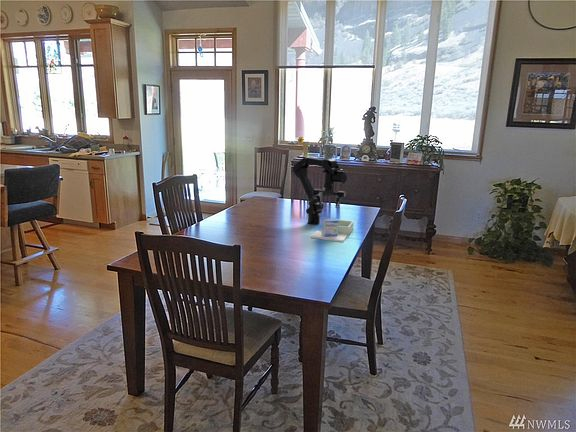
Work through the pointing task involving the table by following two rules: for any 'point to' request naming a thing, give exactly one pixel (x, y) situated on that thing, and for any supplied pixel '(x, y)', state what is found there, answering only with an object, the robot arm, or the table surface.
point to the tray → (333, 238)
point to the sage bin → (345, 227)
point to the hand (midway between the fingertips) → (328, 207)
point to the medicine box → (329, 227)
